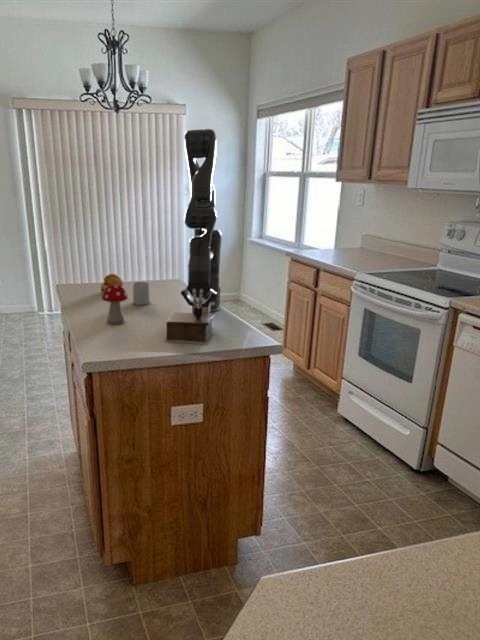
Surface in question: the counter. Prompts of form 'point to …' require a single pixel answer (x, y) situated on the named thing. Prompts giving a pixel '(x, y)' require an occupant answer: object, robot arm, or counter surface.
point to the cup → (141, 293)
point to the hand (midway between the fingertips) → (198, 317)
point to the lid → (190, 319)
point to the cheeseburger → (111, 281)
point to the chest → (188, 332)
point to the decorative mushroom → (114, 302)
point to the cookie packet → (205, 309)
